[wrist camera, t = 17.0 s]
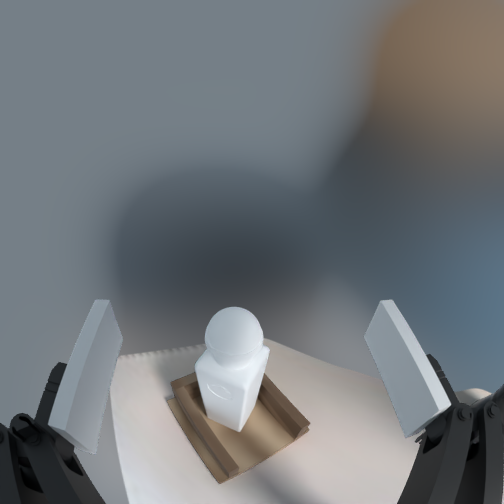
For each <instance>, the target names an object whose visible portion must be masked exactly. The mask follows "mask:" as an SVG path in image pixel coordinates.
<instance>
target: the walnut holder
mask: <svg viewBox="0 0 504 504" xmlns="http://www.w3.org/2000/svg"><path fill="white" fill-rule="evenodd" d="M170 383H171V386H172V389H173V393H174V396H175V398H173V399H170V400H168V401H167V402H168V405H169V406H170V408H171V410H172V412H173V414H174V415H175V417H176V419H177V421H178V422H179V424H180V426H181V427H182V429H183V431H184V432H185V434H186V436H187V437H188V439H189V440H190V442H191V444H192V445H193V447H194V448H195V450H196V451H197V453H198V454H199V456H200V457H201V459H202V460H203V462H204V463H205V465H206V466H207V468H208V469H209V470H210V472H211V473H212V475H213V476H214V477H215V479H216V480H217V481H218V483H219V484H221V483H223V482H225V481H227V480H229V479H231V478H233V477H235V476H237V475H239V474H241V473H243V472H245V471H246V470H248V469H250V468H252V467H254V466H255V465H257V464H259V463H261V462H262V461H264V460H266V459H267V458H269V457H271V456H272V455H274V454H275V453H277V452H279V451H280V450H282V449H283V448H285V447H286V446H288V445H289V444H291V443H292V442H294V441H295V440H297V439H298V438H300V437H301V436H303V435H304V434H305V433H307V432H308V431H309V428H308V426H309V424H310V422H309V421H308V420H307V419H306V418H305V417H304V416H303V415H302V414H301V413H300V412H299V411H298V410H297V409H296V408H295V406H294V405H293V404H292V403H291V402H290V401H289V400H288V399H287V398H286V397H285V396H284V395H283V394H282V392H281V391H280V390H279V389H278V388H277V387H276V386H275V385H274V384H273V382H272V381H271V380H270V379H269V378H268V377H267V376H266V375H265V373H264V375H263V378H262V382H261V386H260V389H259V393H258V396H257V400H256V403H255V406H254V408H253V410H252V412H251V414H250V416H249V417H248V419H247V421H246V423H245V425H244V426H243V428H242V430H241V431H240V432H237V431H235V430H233V429H231V428H228V427H226V426H224V425H222V424H220V423H217V422H215V421H213V420H211V419H209V418H208V417H207V414H206V411H205V407H204V403H203V399H202V395H201V392H200V388H199V384H198V379H197V375H196V372H194V373H192V374H190V375H187V376H185V377H182V378H180V379H177V380H175V381H172V382H170Z"/></svg>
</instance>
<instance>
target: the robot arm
mask: <svg viewBox="0 0 504 504" xmlns="http://www.w3.org/2000/svg"><path fill="white" fill-rule="evenodd" d="M364 339H365V341H366V343H367V346H368V348H369V350H370V352H371V354H372V357H373V359H374V361H375V364H376V366H377V368H378V370H379V373H380V375H381V377H382V380H383V382H384V385H385V387H386V389H387V392H388V394H389V397H390V399H391V402H392V404H393V407H394V409H395V412H396V414H397V417H398V419H399V422H400V425H401V427H402V430H403V433H404V435H405V438H407V437H410V436H412V435H415V434H417V433H419V432H420V431H421V430H423V429H424V428H425V429H426V432H424V433H423V434H422V435H420V436H419V437H418V438H417V439H416V441H415V442H416V443H417V442H418V441H420V440H421V439H422V441H421V442H420V443H419V444H420V447H419V450H418V453H417V456H416V459H415V462H414V465H413V467H412V470H411V473H410V475H409V478H408V480H407V483H406V485H405V487H404V490H403V492H402V494H401V496H400V498H399V501H398V503H397V504H502V494H503V476H504V384H503V385H502V386H501V387H500V388H499V389H498V390H497V391H496V392H495V393H493V394H491V395H489V396H487V397H485V398H483V399H481V400H478V401H476V402H475V403H473V404H472V405H471V406H470V407H469V406H468V405H467V404H464V403H460V402H459V401H458V399H457V397H456V395H455V393H454V391H453V390H452V388H451V386H450V384H449V382H448V380H447V378H445V374H444V373H443V371H442V369H441V367H440V365H439V364H438V362H437V360H436V359H435V358H434V357H432V356H431V355H430V354H428V355H425V353H424V351H423V350H422V348H421V346H420V344H419V342H418V341H417V339H416V337H415V336H414V334H413V332H412V331H411V329H410V327H409V326H408V324H407V322H406V321H405V319H404V318H403V316H402V314H401V313H400V311H399V310H398V308H397V306H396V305H395V303H394V302H393V300H382V301H380V303H379V305H378V307H377V310H376V312H375V314H374V316H373V318H372V320H371V323H370V325H369V327H368V329H367V331H366V333H365V335H364ZM122 341H123V338H122V335H121V332H120V329H119V326H118V324H117V321H116V318H115V315H114V312H113V309H112V306H111V303H110V300H101V299H96V300H95V302H94V304H93V306H92V308H91V310H90V312H89V314H88V317H87V319H86V321H85V323H84V325H83V328H82V330H81V332H80V335H79V337H78V340H77V342H76V344H75V347H74V349H73V351H72V354H71V357H70V359H69V362H68V364H65V363H61V362H59V363H58V364H57V365H56V366H55V367H54V368H53V369H52V371H51V373H50V376H49V379H48V383H47V384H46V387H45V391H44V393H43V395H42V398H41V401H40V405H39V408H38V410H37V414H36V417H35V419H34V420H33V418H31V417H30V416H29V415H28V414H24V413H20V414H17V415H16V416H14V417H13V419H12V420H11V423H10V428H6V427H5V426H4V425H2V424H1V423H0V504H106V503H105V502H104V500H103V499H102V497H101V496H100V494H99V493H98V491H97V490H96V488H95V487H94V485H93V484H92V482H91V480H90V479H89V477H88V475H87V474H86V472H85V470H84V469H83V467H82V465H81V464H80V461H79V460H78V458H77V456H76V454H75V453H74V446H75V447H76V448H78V449H79V450H81V451H84V452H87V453H91V454H94V455H96V452H97V445H98V441H99V435H100V430H101V425H102V420H103V415H104V410H105V406H106V401H107V397H108V393H109V389H110V385H111V381H112V377H113V373H114V369H115V366H116V362H117V358H118V355H119V351H120V348H121V345H122Z"/></svg>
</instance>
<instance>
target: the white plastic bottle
mask: <svg viewBox="0 0 504 504" xmlns="http://www.w3.org/2000/svg"><path fill="white" fill-rule="evenodd" d="M205 343H206V346H207V349H206V351H205V352H204V353H203V354H202V355H201V357H200V358H199V359H198V360H197V362H196V363H195V371H196V375H197V379H198V384H199V388H200V392H201V395H202V399H203V403H204V407H205V411H206V414H207V417H208V418H209V419H211V420H213V421H215V422H217V423H220V424H222V425H224V426H226V427H228V428H231V429H233V430H235V431H237V432H240V431H241V430H242V428H243V426H244V425H245V423H246V421H247V419H248V417H249V416H250V414H251V412H252V410H253V408H254V406H255V403H256V400H257V396H258V393H259V389H260V386H261V382H262V378H263V375H264V371H265V367H266V364H267V360H268V356H269V352H270V350H269V348H268V347H267V346H265V345H263V332H262V329H261V327H260V324H259V322H258V320H257V319H256V317H255V316H254V315H253V314H252V313H251V312H249V311H248V310H246V309H243V308H240V307H228V308H225V309H222V310H221V311H219V312H217V314H215V315H214V316H213V318H212V319H211V321H210V323H209V325H208V326H207V328H206V332H205Z"/></svg>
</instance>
